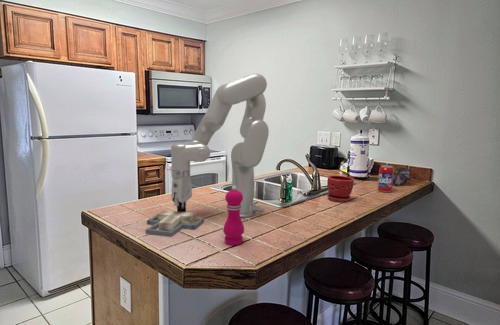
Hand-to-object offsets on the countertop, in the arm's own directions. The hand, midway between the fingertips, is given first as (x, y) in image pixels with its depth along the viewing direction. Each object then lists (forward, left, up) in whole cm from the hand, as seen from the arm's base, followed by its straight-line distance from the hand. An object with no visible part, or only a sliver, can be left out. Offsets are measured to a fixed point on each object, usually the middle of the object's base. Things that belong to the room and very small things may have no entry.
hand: (181, 216), depth 137 cm
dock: (0, +10, -1) cm, 10 cm away
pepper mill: (-28, +17, -1) cm, 33 cm away
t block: (-1, +9, -1) cm, 9 cm away
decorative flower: (-101, -105, -1) cm, 146 cm away
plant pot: (-64, -53, -1) cm, 83 cm away
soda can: (-90, -81, -1) cm, 121 cm away
